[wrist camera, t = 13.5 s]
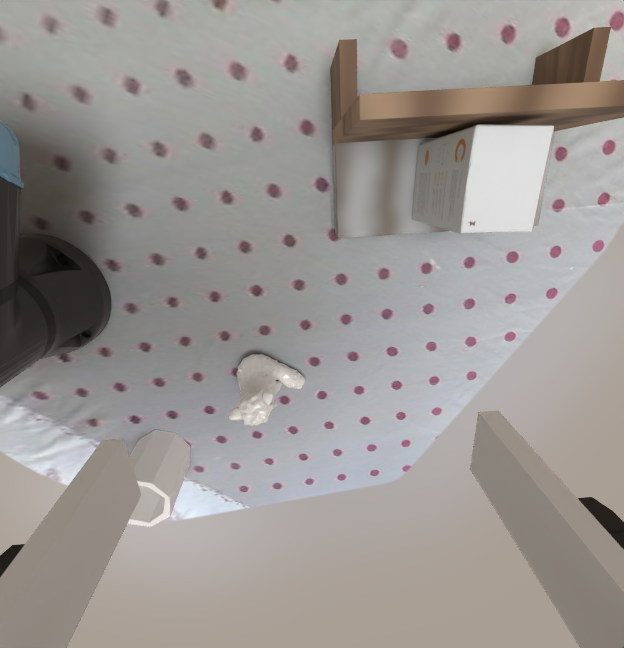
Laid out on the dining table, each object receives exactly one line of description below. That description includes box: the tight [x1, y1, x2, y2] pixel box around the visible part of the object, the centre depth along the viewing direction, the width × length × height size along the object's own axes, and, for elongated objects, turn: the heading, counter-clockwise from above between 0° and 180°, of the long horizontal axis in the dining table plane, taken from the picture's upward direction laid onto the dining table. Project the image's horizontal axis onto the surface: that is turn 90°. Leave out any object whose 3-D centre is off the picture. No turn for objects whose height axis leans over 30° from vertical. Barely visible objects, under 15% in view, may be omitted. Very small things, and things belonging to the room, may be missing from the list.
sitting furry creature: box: [229, 354, 305, 426], centre depth 46 cm, size 10×9×12 cm
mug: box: [128, 429, 190, 527], centre depth 52 cm, size 12×9×10 cm
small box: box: [412, 125, 554, 234], centre depth 34 cm, size 8×6×13 cm
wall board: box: [331, 27, 624, 238], centre depth 33 cm, size 24×18×18 cm
